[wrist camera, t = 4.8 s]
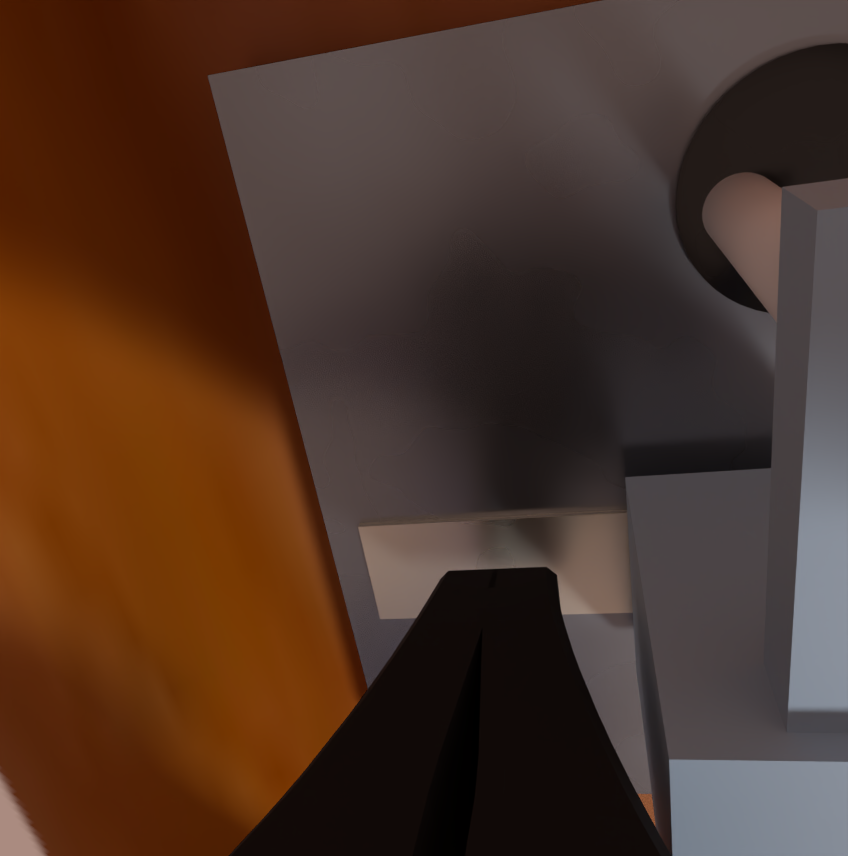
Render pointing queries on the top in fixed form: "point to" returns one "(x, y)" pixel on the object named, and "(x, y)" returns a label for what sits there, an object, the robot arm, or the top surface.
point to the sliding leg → (757, 566)
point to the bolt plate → (526, 287)
